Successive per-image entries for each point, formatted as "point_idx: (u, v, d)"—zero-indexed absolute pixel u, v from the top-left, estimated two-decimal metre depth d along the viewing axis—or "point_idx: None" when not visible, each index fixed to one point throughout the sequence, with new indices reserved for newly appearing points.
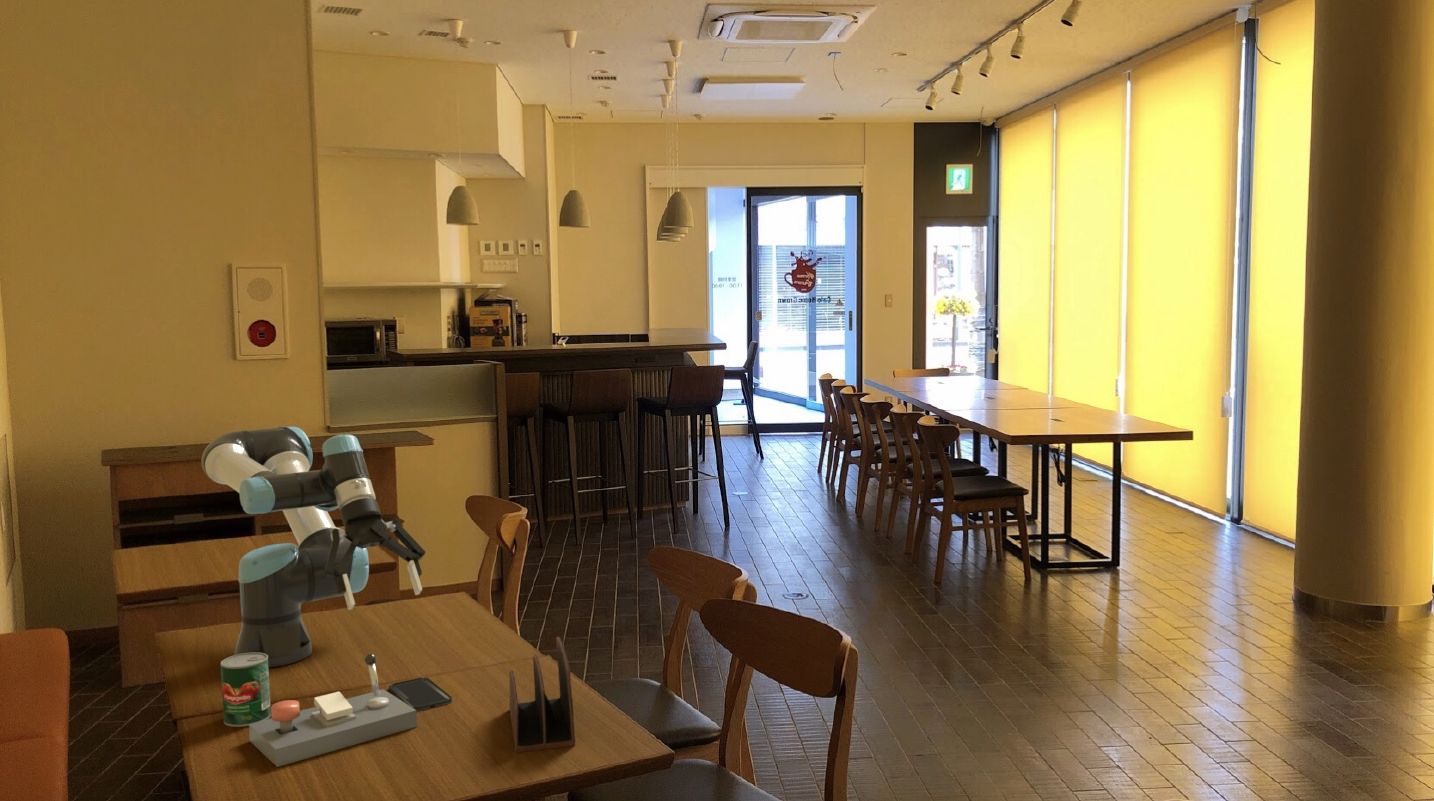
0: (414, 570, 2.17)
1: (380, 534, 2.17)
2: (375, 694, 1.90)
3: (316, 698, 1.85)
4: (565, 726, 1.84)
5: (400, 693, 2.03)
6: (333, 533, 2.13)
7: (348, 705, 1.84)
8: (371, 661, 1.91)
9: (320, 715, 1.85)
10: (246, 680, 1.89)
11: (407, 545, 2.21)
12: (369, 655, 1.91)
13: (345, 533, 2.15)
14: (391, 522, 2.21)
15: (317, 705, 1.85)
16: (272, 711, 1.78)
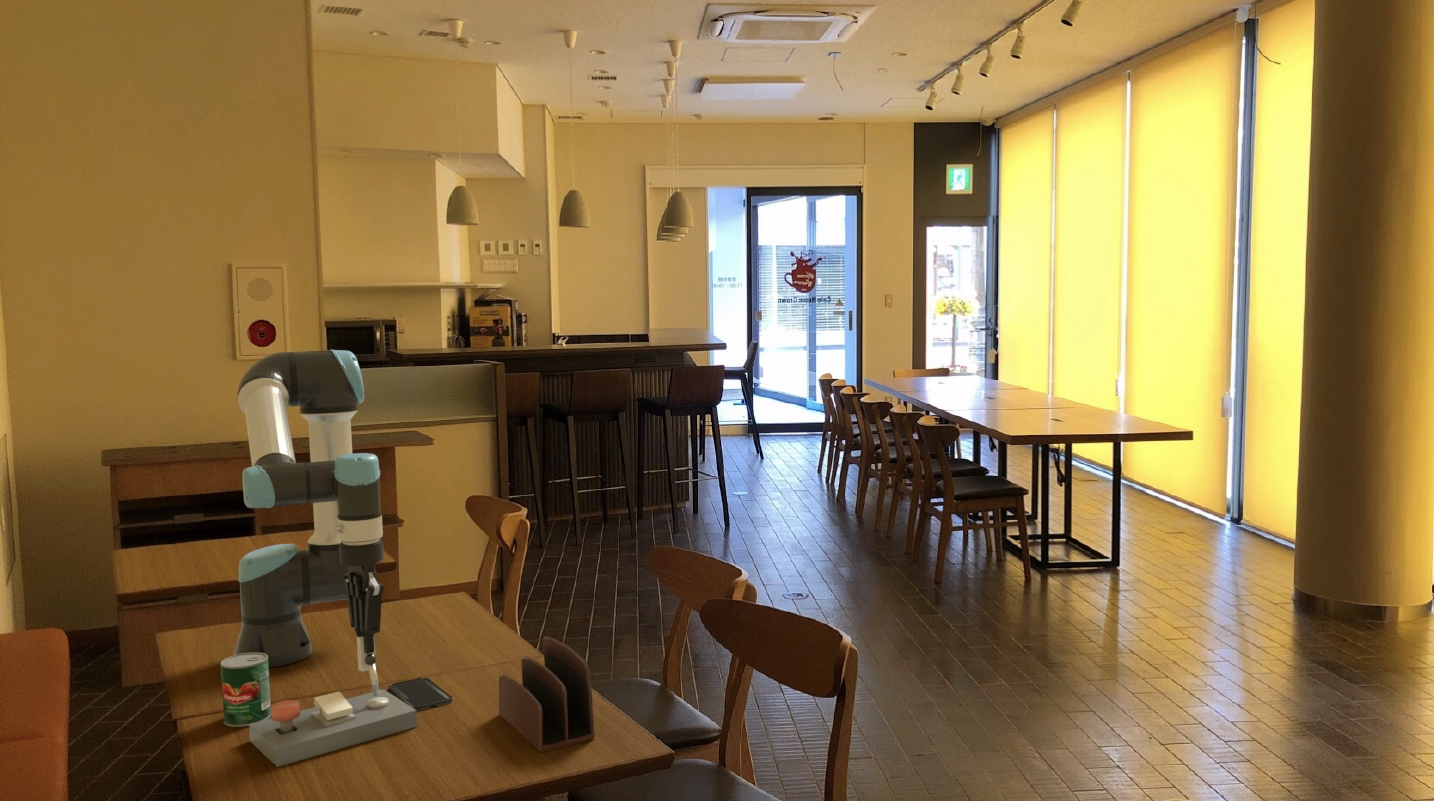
0: (359, 647, 1.91)
1: (356, 587, 1.90)
2: (375, 694, 1.90)
3: (316, 698, 1.85)
4: (575, 722, 1.85)
5: (400, 693, 2.03)
6: (344, 580, 1.95)
7: (348, 705, 1.84)
8: (371, 661, 1.91)
9: (320, 715, 1.85)
10: (246, 680, 1.89)
11: None
12: (369, 655, 1.91)
13: None
14: (371, 584, 1.87)
15: (317, 705, 1.85)
16: (272, 711, 1.78)
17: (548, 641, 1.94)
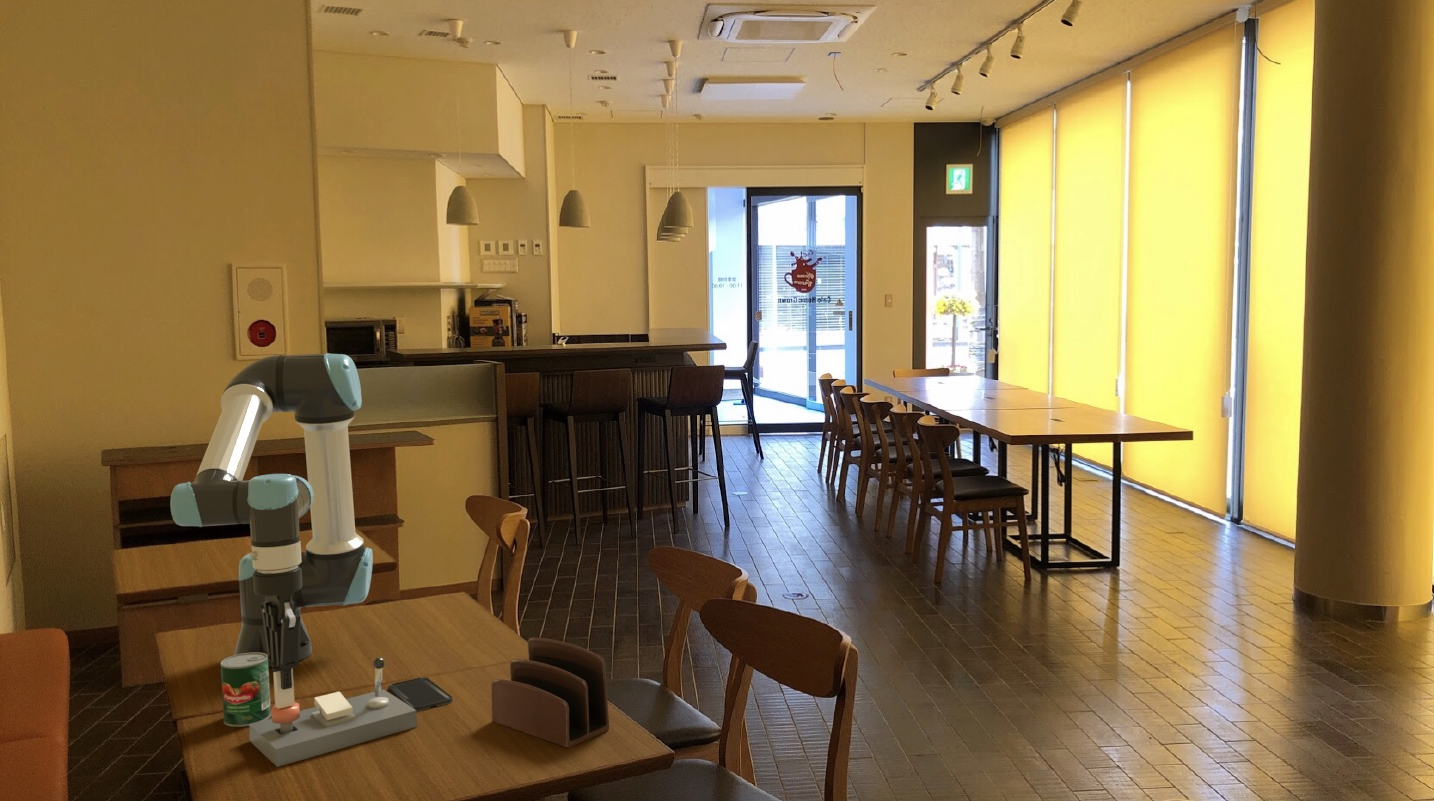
0: (276, 683, 1.78)
1: (271, 619, 1.76)
2: (376, 696, 1.89)
3: (316, 698, 1.85)
4: None
5: (400, 693, 2.03)
6: None
7: (348, 705, 1.84)
8: (379, 667, 1.88)
9: (320, 715, 1.85)
10: (246, 680, 1.89)
11: None
12: (378, 661, 1.88)
13: None
14: (287, 615, 1.74)
15: (317, 705, 1.85)
16: (272, 713, 1.78)
17: (537, 641, 1.94)
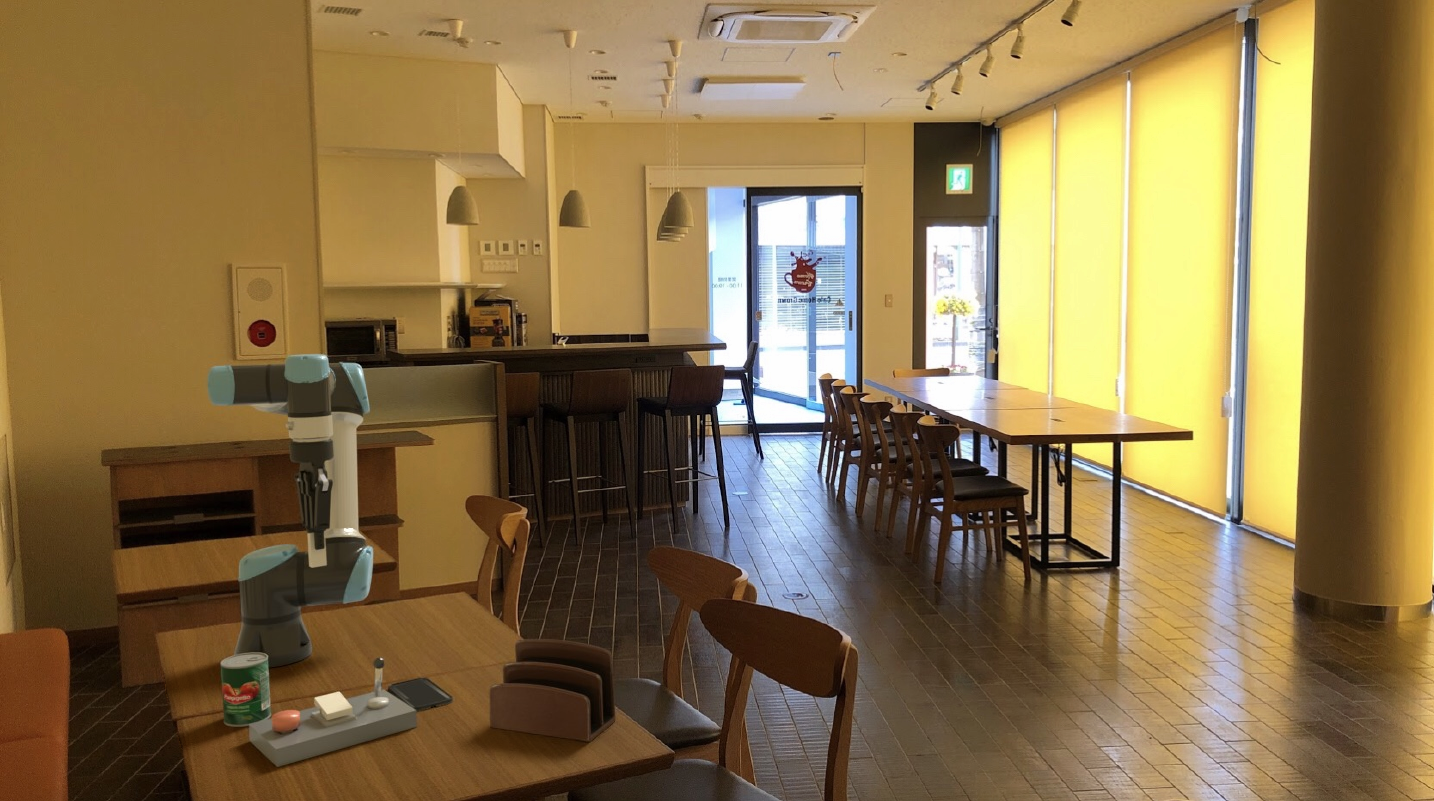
0: (310, 544, 1.96)
1: (306, 484, 1.94)
2: (376, 696, 1.89)
3: (316, 698, 1.85)
4: None
5: (400, 693, 2.03)
6: (296, 479, 1.99)
7: (348, 705, 1.84)
8: (379, 667, 1.88)
9: (320, 715, 1.85)
10: (246, 680, 1.89)
11: None
12: (378, 661, 1.88)
13: None
14: (320, 480, 1.91)
15: (317, 705, 1.85)
16: (273, 721, 1.78)
17: (528, 643, 1.93)
